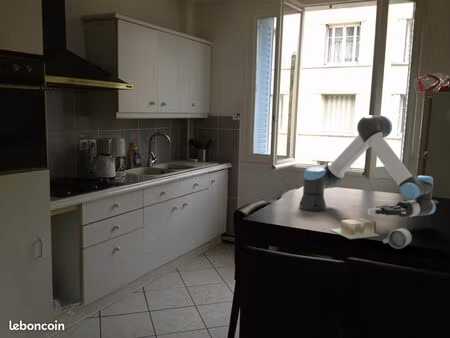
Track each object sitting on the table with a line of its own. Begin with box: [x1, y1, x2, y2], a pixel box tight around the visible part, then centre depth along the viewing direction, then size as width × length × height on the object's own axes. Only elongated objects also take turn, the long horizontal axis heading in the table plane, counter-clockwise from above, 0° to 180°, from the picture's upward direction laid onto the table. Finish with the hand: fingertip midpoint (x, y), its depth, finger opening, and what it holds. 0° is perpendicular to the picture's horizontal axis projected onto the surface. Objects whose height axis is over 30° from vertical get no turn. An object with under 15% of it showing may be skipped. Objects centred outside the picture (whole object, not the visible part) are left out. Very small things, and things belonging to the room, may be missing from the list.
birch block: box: [340, 217, 377, 235], centre depth 185 cm, size 5×7×14 cm
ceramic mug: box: [382, 227, 412, 250], centre depth 168 cm, size 11×8×8 cm
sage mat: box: [330, 227, 380, 240], centre depth 185 cm, size 16×14×1 cm
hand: (368, 211), depth 186 cm, fingers closed
